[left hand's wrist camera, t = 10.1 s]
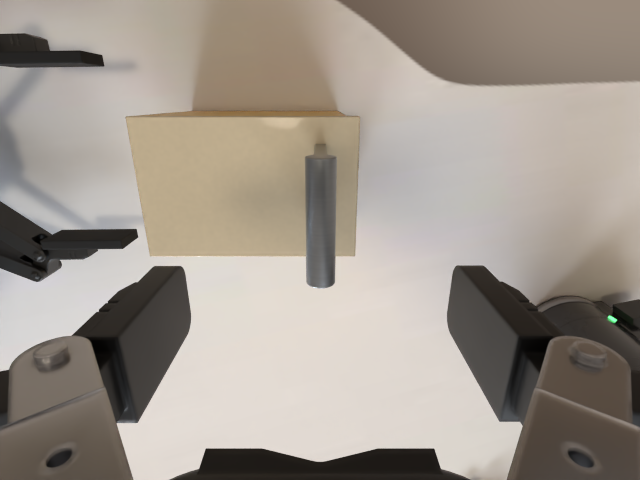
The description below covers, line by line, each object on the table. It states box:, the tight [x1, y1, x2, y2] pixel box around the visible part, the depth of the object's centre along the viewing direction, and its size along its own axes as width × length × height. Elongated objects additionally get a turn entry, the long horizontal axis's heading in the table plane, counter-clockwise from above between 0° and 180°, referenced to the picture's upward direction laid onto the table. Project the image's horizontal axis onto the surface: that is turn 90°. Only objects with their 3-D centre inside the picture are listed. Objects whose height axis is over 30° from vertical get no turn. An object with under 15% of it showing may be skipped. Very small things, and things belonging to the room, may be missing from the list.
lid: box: [126, 116, 360, 288], centre depth 21 cm, size 14×9×8 cm, turn 90°
